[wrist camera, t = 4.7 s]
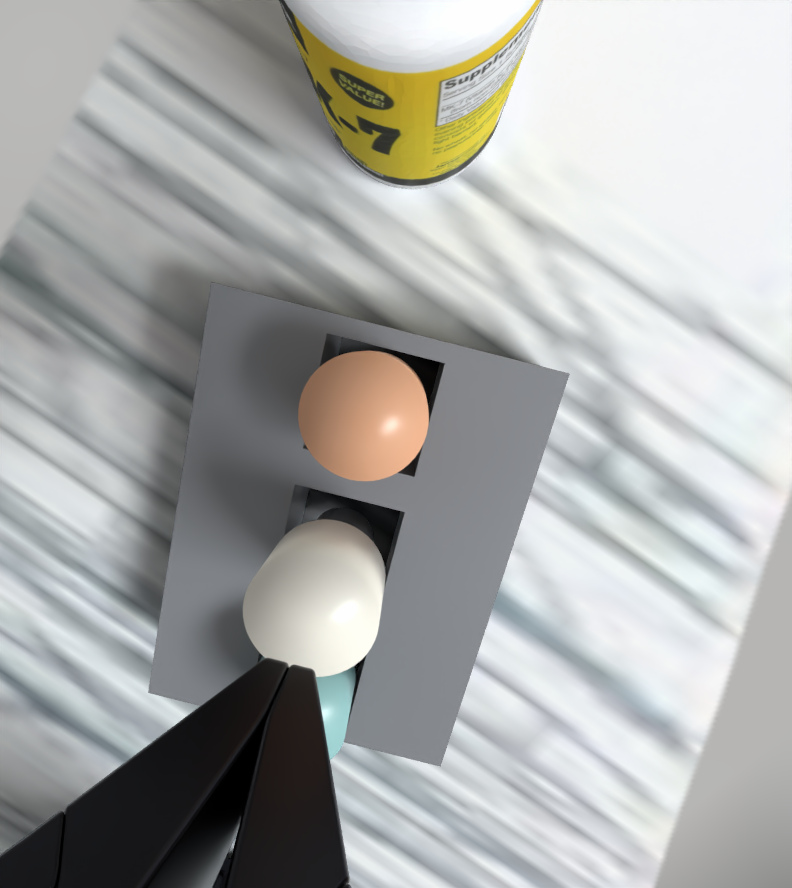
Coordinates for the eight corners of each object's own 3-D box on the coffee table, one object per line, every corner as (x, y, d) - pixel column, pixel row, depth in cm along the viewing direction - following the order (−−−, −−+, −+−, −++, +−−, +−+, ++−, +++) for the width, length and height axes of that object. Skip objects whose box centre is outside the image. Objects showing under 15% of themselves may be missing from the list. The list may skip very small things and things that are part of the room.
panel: (437, 705, 16) (440, 766, 14) (187, 642, 16) (148, 692, 14) (543, 369, 14) (569, 373, 11) (247, 293, 14) (211, 282, 11)
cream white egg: (378, 591, 14) (361, 690, 10) (285, 568, 14) (231, 658, 10) (401, 504, 13) (393, 572, 9) (305, 480, 13) (255, 537, 9)
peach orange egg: (412, 453, 14) (410, 494, 10) (323, 430, 14) (286, 463, 10) (436, 363, 13) (443, 370, 10) (343, 339, 13) (312, 336, 10)
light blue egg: (354, 674, 16) (332, 782, 12) (274, 653, 16) (227, 755, 12) (373, 602, 15) (357, 691, 11) (290, 581, 15) (246, 663, 11)
